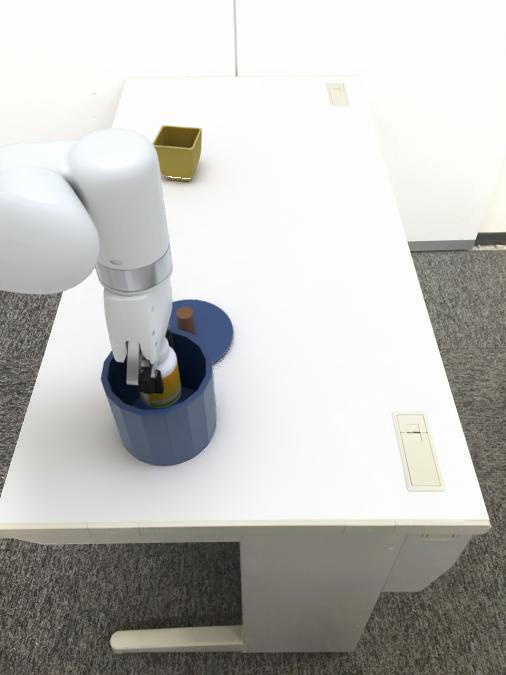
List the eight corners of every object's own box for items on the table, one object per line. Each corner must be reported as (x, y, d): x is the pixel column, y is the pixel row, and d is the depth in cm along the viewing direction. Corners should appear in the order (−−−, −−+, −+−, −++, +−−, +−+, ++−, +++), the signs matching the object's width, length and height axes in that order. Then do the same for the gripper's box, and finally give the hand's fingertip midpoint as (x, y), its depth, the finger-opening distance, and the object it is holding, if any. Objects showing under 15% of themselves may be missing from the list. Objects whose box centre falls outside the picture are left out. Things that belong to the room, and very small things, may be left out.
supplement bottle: (190, 387, 70) (183, 339, 63) (164, 416, 67) (154, 370, 60) (158, 370, 72) (148, 321, 65) (131, 397, 69) (118, 350, 62)
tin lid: (158, 386, 80) (153, 362, 75) (130, 320, 88) (124, 295, 84) (248, 354, 84) (248, 330, 79) (213, 294, 92) (211, 269, 88)
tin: (135, 481, 70) (118, 431, 60) (109, 402, 78) (89, 347, 68) (231, 443, 73) (229, 390, 64) (196, 371, 81) (189, 315, 72)
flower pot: (156, 184, 114) (150, 145, 108) (167, 162, 120) (162, 124, 113) (196, 187, 114) (193, 149, 107) (205, 165, 119) (202, 127, 112)
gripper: (118, 205, 58) (142, 318, 72) (68, 319, 47) (108, 427, 61) (186, 210, 58) (197, 322, 72) (152, 325, 47) (173, 433, 60)
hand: (156, 370), depth 66 cm, fingers closed on supplement bottle, 5 cm apart
